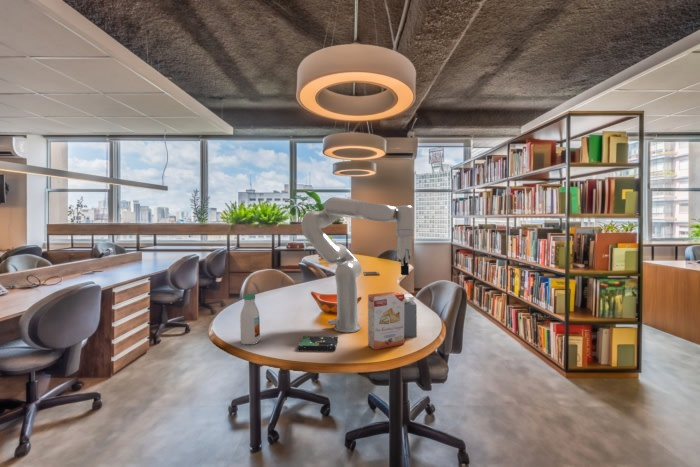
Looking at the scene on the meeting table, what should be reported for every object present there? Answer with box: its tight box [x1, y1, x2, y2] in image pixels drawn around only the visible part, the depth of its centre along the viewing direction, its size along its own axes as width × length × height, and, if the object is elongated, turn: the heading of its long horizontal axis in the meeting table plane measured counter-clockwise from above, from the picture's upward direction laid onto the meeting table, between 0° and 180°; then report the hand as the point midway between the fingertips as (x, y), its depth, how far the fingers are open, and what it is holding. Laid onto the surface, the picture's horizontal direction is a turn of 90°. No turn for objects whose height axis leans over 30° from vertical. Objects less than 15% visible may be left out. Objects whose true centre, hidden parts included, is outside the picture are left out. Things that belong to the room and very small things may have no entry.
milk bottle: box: [239, 293, 261, 345], centre depth 132 cm, size 8×8×20 cm
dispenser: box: [404, 300, 418, 338], centre depth 140 cm, size 8×8×14 cm
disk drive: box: [297, 335, 339, 352], centre depth 127 cm, size 10×3×15 cm
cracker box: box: [367, 291, 405, 351], centre depth 127 cm, size 14×6×21 cm, turn 114°
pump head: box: [403, 293, 415, 303], centre depth 138 cm, size 6×9×12 cm, turn 1°
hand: (404, 274), depth 140 cm, fingers closed
